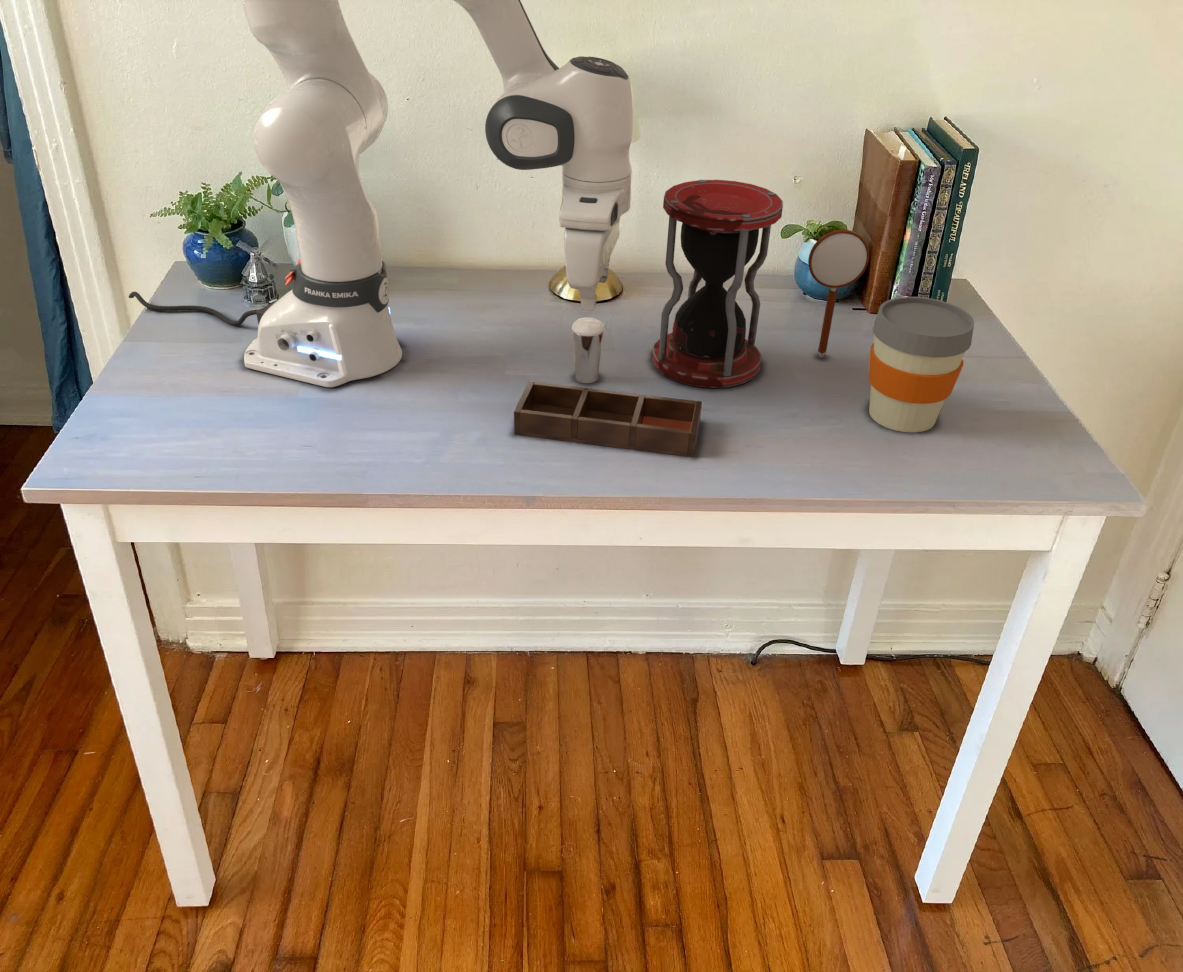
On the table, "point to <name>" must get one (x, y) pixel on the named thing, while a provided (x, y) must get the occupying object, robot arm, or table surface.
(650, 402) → the compartment tray
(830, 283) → the magnifying glass
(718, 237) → the hourglass
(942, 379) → the reusable coffee cup
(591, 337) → the milkshake
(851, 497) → the table surface
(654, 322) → the table surface
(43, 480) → the table surface
